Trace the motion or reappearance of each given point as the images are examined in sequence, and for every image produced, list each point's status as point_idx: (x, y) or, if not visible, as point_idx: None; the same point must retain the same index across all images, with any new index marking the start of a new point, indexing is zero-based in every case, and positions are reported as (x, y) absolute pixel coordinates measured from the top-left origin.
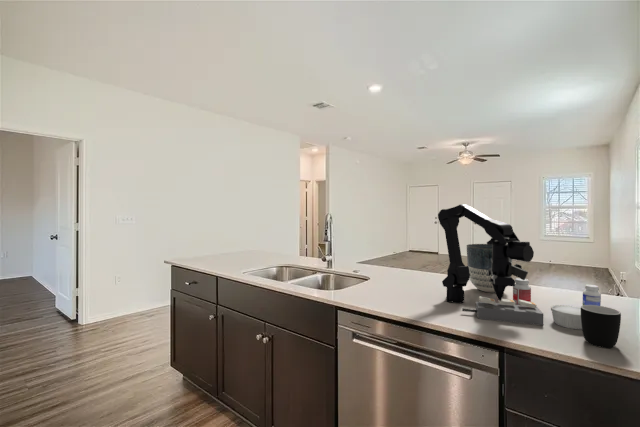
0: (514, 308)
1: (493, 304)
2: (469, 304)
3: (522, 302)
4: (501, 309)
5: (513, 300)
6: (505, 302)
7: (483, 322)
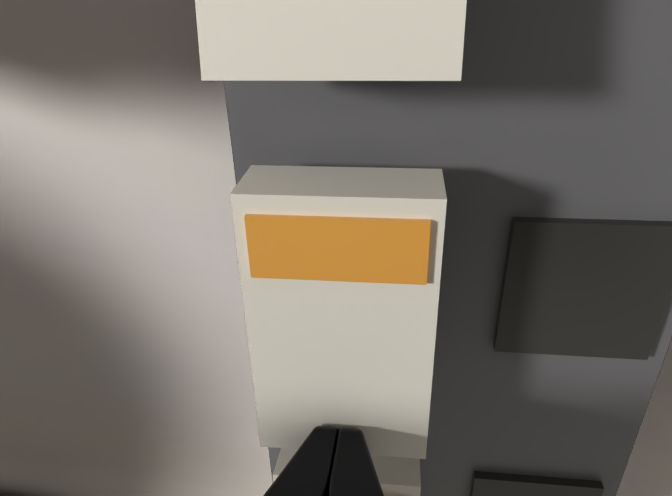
0: (519, 183)
1: (416, 461)
2: (62, 461)
3: (461, 22)
4: (632, 397)
5: (267, 202)
6: (432, 361)
7: (667, 456)
